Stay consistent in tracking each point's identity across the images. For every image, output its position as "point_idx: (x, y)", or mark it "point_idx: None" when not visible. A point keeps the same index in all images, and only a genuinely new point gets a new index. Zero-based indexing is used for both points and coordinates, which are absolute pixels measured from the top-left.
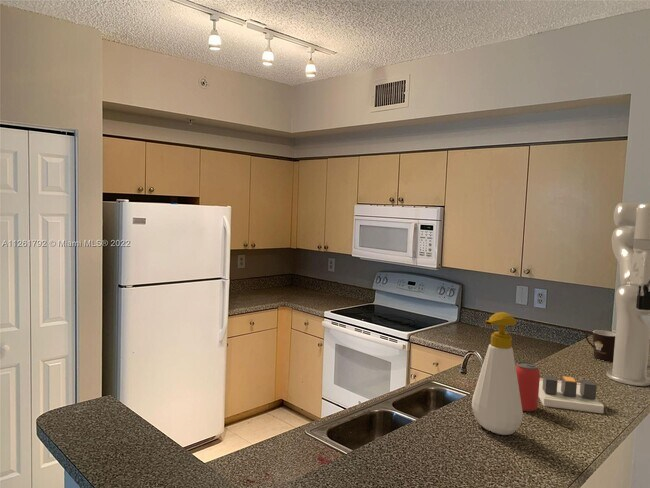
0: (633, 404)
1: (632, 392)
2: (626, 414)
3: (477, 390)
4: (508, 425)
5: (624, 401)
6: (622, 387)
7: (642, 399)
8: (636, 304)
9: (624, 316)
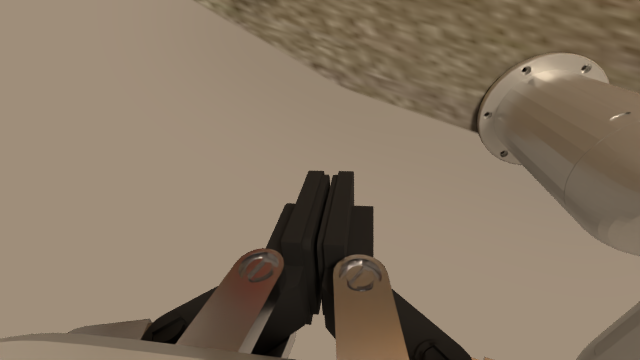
0: (328, 59)
1: (422, 86)
2: (251, 18)
3: None
4: None
5: (342, 41)
6: (459, 71)
7: (374, 94)
8: (346, 184)
9: None
